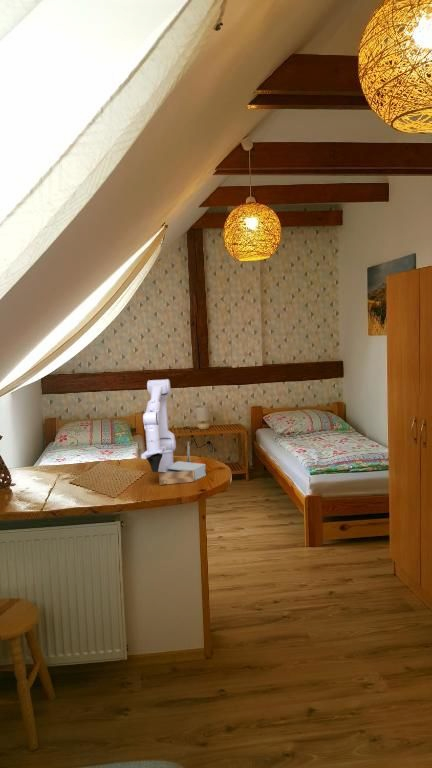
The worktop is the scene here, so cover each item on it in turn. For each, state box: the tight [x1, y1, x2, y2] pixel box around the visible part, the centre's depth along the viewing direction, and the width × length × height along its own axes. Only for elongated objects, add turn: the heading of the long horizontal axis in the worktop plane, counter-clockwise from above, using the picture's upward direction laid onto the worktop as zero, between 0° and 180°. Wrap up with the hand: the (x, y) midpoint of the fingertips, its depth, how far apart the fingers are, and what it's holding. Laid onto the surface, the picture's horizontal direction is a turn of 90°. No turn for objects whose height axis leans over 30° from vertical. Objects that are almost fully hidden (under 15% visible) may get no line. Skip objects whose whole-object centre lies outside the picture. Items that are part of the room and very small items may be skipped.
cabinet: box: [165, 460, 207, 481], centre depth 255 cm, size 15×10×5 cm, turn 59°
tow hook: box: [186, 441, 205, 464], centre depth 270 cm, size 8×13×9 cm
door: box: [158, 470, 196, 486], centre depth 245 cm, size 15×2×5 cm, turn 99°
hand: (155, 471), depth 238 cm, fingers closed
